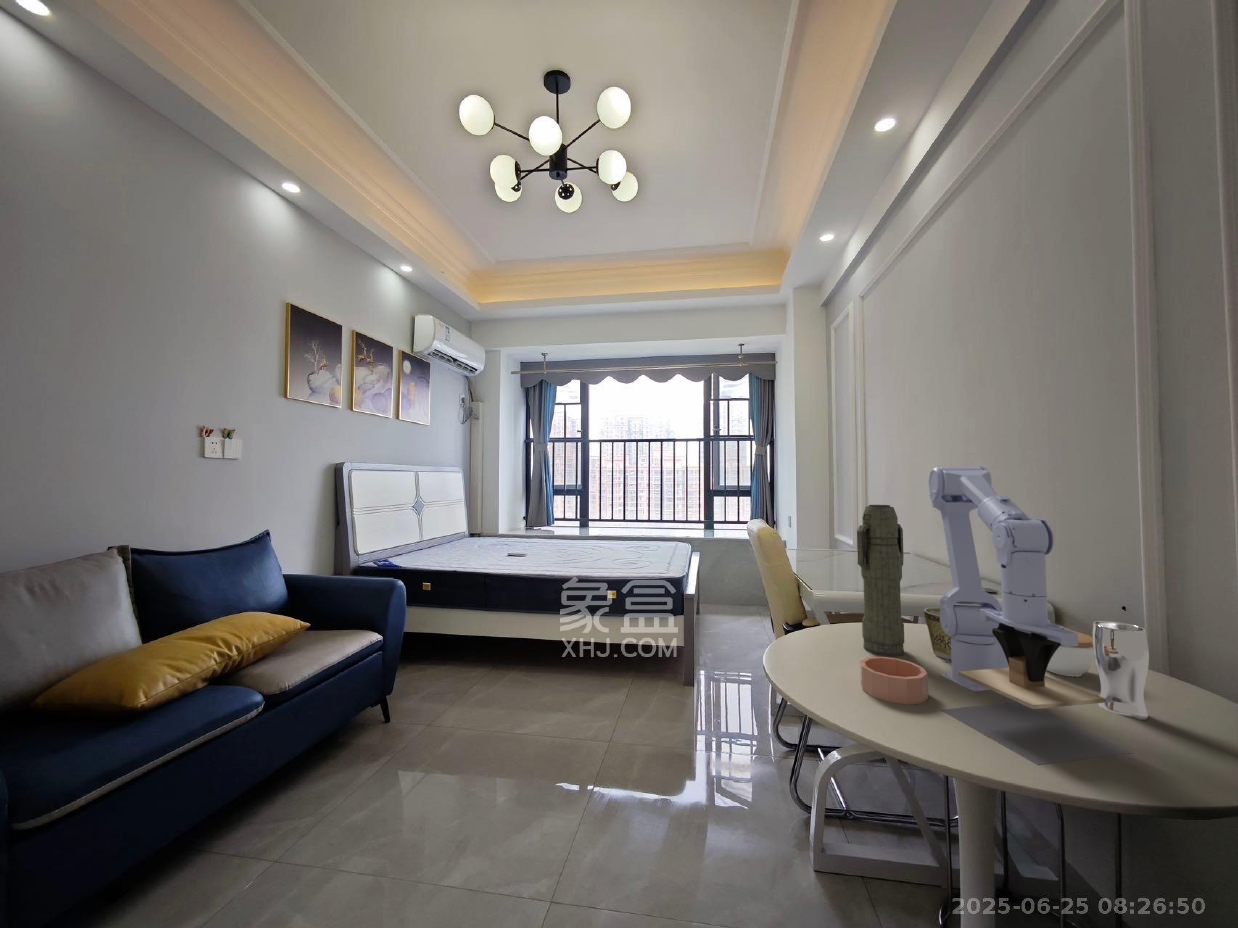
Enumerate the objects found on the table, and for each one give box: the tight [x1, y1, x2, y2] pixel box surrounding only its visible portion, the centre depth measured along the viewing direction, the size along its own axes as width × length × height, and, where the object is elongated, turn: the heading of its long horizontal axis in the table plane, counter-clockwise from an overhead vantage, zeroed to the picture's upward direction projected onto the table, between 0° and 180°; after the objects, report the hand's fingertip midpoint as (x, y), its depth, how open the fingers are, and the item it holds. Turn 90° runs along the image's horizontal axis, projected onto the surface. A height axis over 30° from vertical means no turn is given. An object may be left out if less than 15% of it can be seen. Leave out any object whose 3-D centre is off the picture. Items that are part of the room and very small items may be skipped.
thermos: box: [856, 504, 905, 657], centre depth 119 cm, size 9×12×35 cm
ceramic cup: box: [923, 606, 952, 661], centre depth 115 cm, size 13×10×10 cm
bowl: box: [859, 656, 929, 705], centre depth 94 cm, size 11×11×5 cm
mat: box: [940, 701, 1135, 766], centre depth 79 cm, size 17×17×1 cm
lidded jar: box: [1046, 625, 1095, 678], centre depth 105 cm, size 11×11×9 cm
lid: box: [958, 656, 1106, 710], centre depth 80 cm, size 13×13×5 cm
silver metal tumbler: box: [1091, 620, 1150, 721], centre depth 86 cm, size 7×7×15 cm
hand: (1026, 677), depth 80 cm, fingers closed on lid, 2 cm apart
